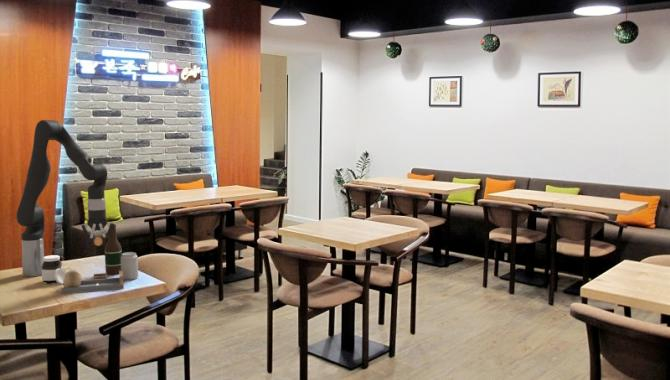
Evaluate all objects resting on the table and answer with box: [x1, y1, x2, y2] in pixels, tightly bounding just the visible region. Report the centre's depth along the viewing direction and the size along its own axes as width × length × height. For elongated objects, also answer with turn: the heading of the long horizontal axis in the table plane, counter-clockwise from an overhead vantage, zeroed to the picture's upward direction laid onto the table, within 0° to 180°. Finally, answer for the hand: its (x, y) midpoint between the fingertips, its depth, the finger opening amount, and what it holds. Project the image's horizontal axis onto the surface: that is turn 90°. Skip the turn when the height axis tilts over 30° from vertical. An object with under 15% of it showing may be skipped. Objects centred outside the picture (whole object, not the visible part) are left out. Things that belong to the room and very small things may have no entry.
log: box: [62, 269, 82, 288], centre depth 274 cm, size 7×8×7 cm
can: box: [121, 251, 139, 281], centre depth 292 cm, size 8×8×12 cm
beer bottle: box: [104, 223, 123, 276], centre depth 300 cm, size 8×8×24 cm
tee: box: [92, 272, 108, 280], centre depth 286 cm, size 6×6×3 cm
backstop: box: [118, 270, 125, 290], centre depth 280 cm, size 2×11×6 cm, turn 19°
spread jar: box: [41, 254, 68, 285], centre depth 285 cm, size 12×11×12 cm
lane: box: [61, 277, 121, 295], centre depth 277 cm, size 23×11×2 cm, turn 109°
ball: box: [94, 236, 103, 247], centre depth 284 cm, size 4×4×4 cm
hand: (98, 245), depth 284 cm, fingers closed on ball, 4 cm apart
